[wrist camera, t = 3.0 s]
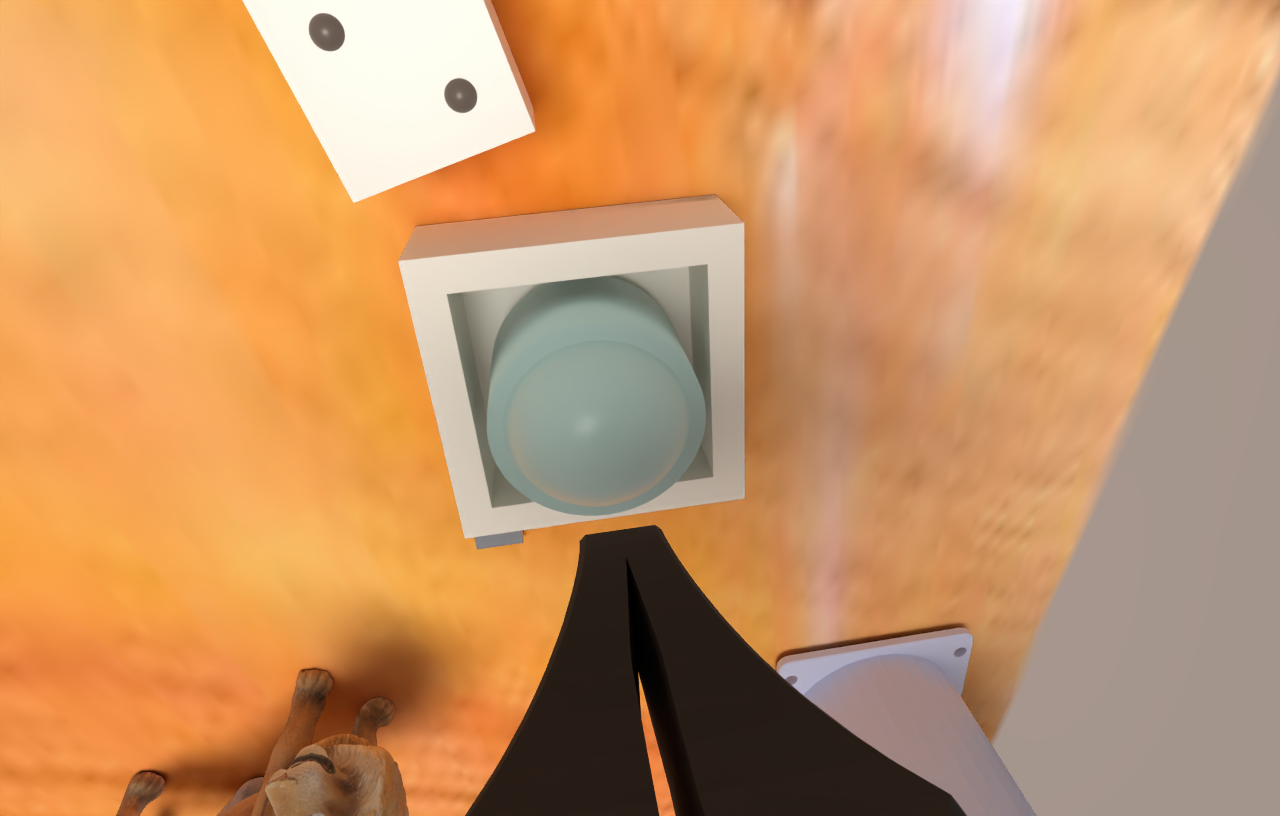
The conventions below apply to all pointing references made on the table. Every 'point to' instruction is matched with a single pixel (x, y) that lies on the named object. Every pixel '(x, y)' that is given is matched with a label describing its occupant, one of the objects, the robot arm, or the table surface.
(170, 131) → the table surface
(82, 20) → the table surface
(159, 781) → the lion figurine
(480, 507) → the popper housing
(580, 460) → the dome plunger
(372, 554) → the table surface
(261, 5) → the die
